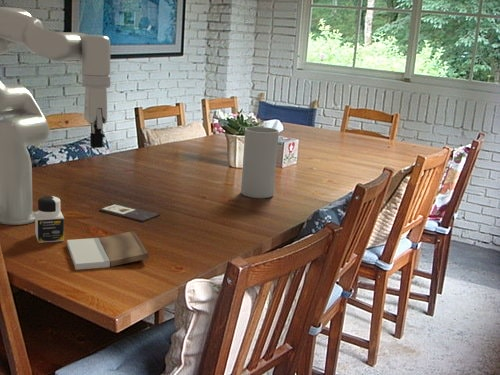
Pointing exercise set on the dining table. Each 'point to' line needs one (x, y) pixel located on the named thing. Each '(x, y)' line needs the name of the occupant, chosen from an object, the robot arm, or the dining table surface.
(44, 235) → the medicine bottle
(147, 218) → the chocolate bar
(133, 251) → the plank
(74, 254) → the laid board
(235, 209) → the dining table surface
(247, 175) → the cylinder vase
